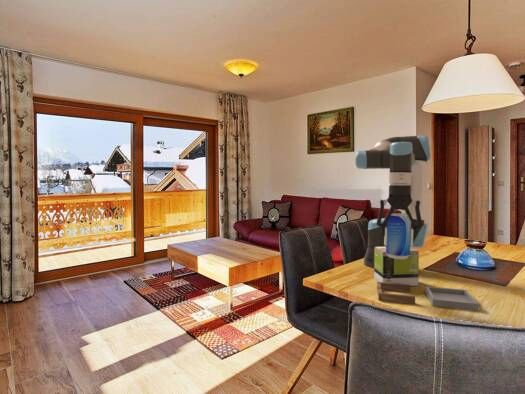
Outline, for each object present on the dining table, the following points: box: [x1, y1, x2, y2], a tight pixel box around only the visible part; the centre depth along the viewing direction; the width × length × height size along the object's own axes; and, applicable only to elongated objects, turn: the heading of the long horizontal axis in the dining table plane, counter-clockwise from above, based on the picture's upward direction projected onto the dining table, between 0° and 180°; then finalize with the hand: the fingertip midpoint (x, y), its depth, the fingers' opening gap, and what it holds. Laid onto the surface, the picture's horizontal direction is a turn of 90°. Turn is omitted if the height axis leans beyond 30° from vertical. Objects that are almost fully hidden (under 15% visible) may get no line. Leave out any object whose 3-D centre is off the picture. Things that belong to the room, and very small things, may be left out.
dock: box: [376, 281, 416, 305], centre depth 126 cm, size 13×12×2 cm
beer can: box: [386, 212, 411, 259], centre depth 124 cm, size 8×8×16 cm
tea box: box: [373, 247, 420, 287], centre depth 140 cm, size 15×10×15 cm
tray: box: [424, 285, 480, 312], centre depth 120 cm, size 14×14×2 cm
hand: (398, 245), depth 124 cm, fingers closed on beer can, 8 cm apart
